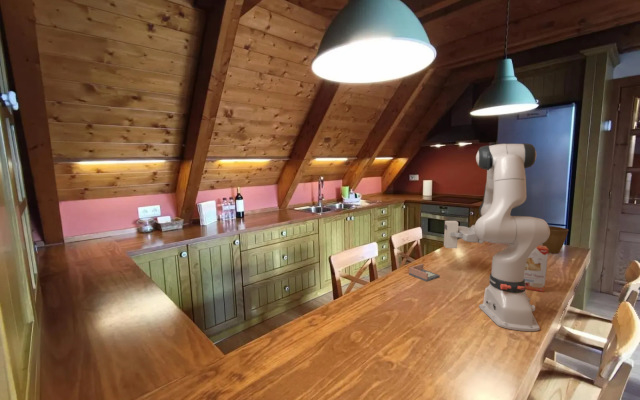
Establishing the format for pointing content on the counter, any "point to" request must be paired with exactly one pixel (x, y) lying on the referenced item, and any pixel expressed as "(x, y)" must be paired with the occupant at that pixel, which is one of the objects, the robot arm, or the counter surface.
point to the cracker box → (536, 269)
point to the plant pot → (556, 239)
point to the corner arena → (422, 273)
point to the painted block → (448, 239)
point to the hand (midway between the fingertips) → (449, 233)
